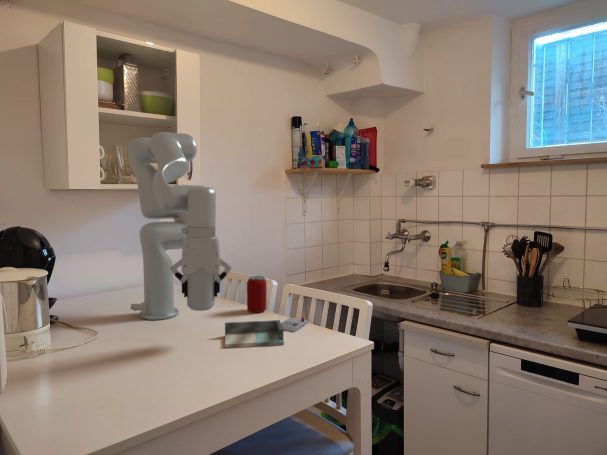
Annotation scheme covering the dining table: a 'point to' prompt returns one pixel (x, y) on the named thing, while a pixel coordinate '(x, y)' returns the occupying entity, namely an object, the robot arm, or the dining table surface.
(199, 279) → the can
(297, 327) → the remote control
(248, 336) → the grey green tray
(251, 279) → the beverage can
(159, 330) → the dining table surface
